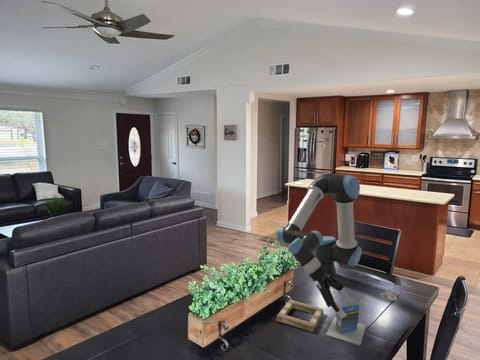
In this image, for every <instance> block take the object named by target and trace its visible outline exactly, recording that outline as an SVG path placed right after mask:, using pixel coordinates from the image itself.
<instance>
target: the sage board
mask: <svg viewBox="0 0 480 360" xmlns="http://www.w3.org/2000/svg"><path fill="white" fill-rule="evenodd" d="M336 317H337V316H334V317H333V319H332V321H331V324H330V326H329V328H328V330H327V332H326V333H325V336H327V337H331V338H334V339H337V340H341V341H344V342H347V343H350V344H353V345H357V346H361V344H362V341H363V337H364V334H365V331H366V329H367V325H366V324H364V323H361V322H358V324H357V330H353V331H349V332H345V333H339V332H338V331H337V330H336V329H335V328H336Z"/></svg>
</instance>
